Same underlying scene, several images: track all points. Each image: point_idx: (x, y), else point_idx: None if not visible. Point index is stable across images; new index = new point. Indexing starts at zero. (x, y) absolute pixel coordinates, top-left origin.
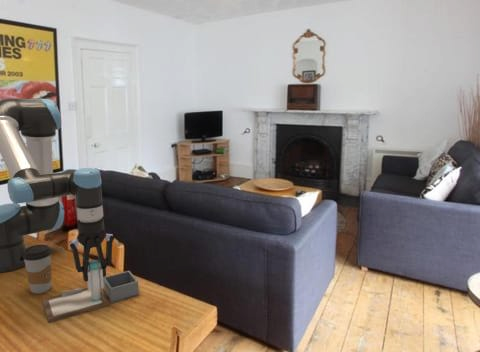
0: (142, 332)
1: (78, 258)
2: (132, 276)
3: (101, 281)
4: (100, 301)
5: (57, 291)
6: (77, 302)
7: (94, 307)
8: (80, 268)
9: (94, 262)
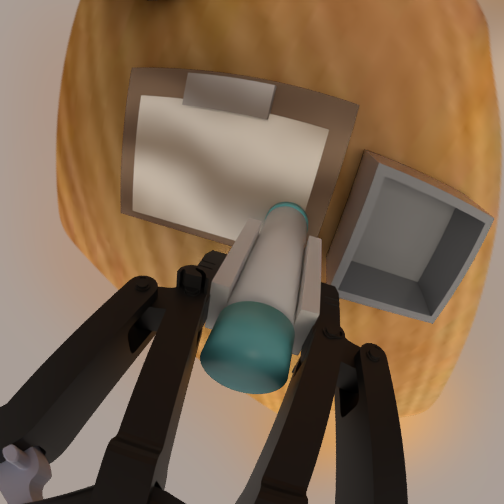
0: None
1: (98, 396)
2: (459, 275)
3: None
4: None
5: (207, 14)
6: (217, 187)
7: None
8: (145, 338)
9: (244, 376)
